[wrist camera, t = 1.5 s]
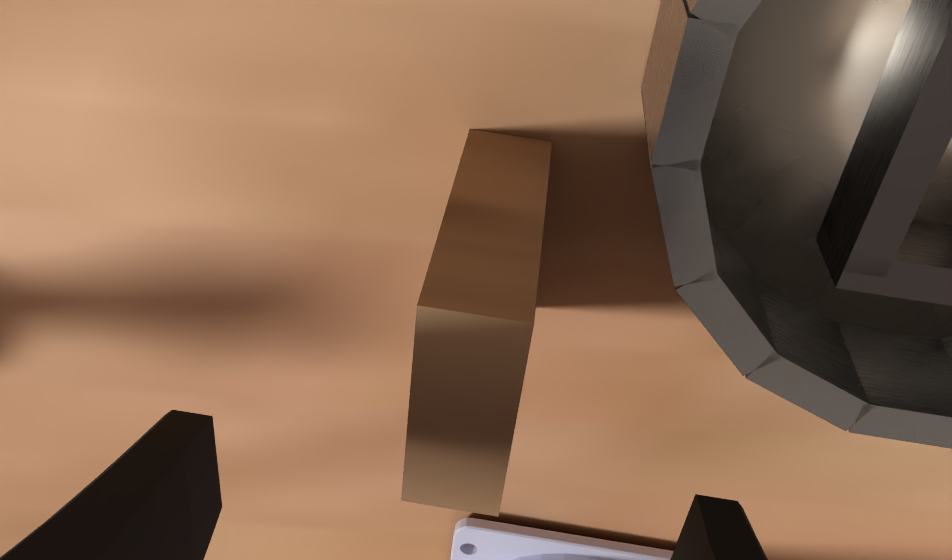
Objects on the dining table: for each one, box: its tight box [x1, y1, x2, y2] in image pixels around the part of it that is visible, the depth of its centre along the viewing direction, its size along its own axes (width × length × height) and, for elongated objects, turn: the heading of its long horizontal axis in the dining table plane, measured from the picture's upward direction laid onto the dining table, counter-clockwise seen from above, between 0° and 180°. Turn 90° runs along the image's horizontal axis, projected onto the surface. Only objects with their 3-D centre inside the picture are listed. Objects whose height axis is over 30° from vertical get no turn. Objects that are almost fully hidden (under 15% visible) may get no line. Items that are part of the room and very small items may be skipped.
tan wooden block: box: [401, 129, 552, 517], centre depth 17 cm, size 4×2×6 cm, turn 174°
